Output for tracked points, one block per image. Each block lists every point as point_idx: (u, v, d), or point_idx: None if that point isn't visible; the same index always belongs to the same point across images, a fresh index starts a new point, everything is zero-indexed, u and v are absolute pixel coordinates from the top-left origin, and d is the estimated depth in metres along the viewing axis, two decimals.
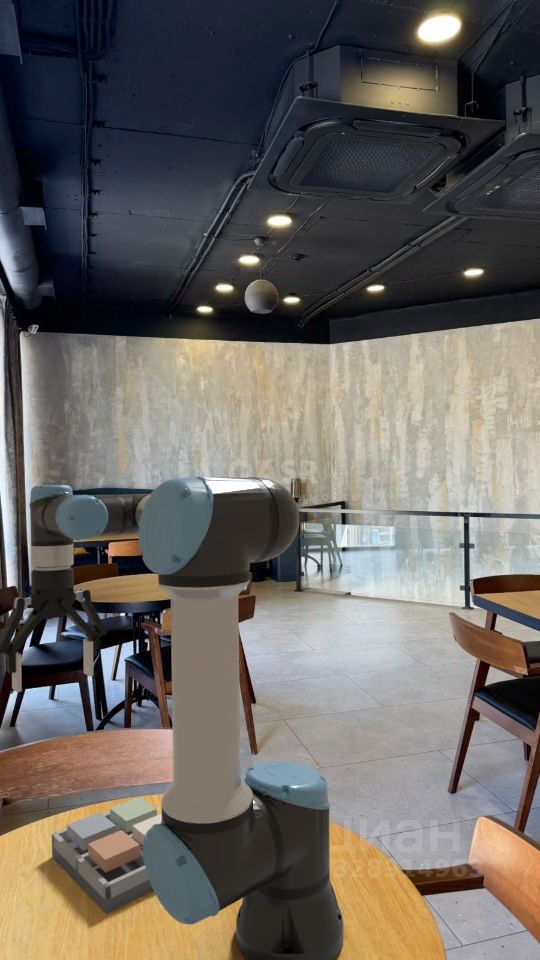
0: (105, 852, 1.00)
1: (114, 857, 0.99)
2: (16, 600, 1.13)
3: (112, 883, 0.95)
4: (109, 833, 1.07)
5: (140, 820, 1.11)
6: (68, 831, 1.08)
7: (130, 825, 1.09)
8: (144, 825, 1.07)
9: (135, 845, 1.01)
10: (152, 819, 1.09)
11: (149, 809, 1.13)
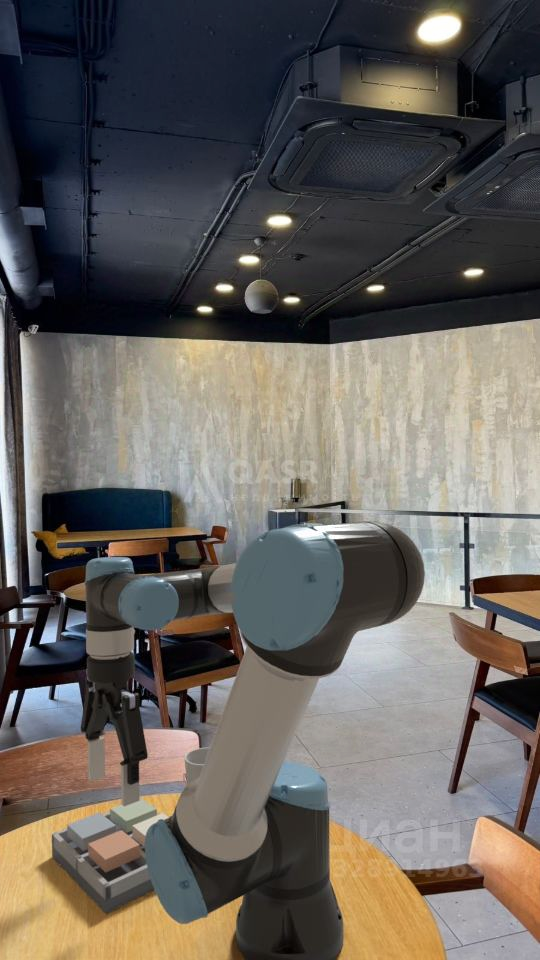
0: (105, 852, 1.00)
1: (114, 857, 0.99)
2: None
3: (112, 883, 0.95)
4: (109, 833, 1.07)
5: (140, 820, 1.11)
6: (68, 831, 1.08)
7: (130, 825, 1.09)
8: (144, 825, 1.07)
9: (135, 845, 1.01)
10: (152, 819, 1.09)
11: (149, 809, 1.13)
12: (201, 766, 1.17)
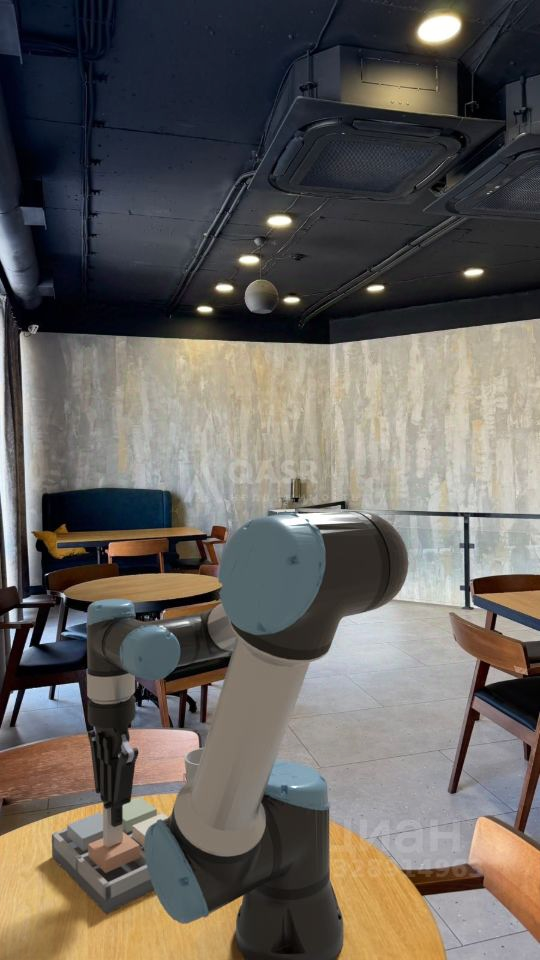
0: (105, 852, 1.00)
1: (114, 857, 0.99)
2: None
3: (112, 883, 0.95)
4: None
5: (140, 820, 1.11)
6: (68, 831, 1.08)
7: (130, 825, 1.09)
8: (144, 825, 1.07)
9: (135, 845, 1.01)
10: (152, 819, 1.09)
11: (149, 809, 1.13)
12: None
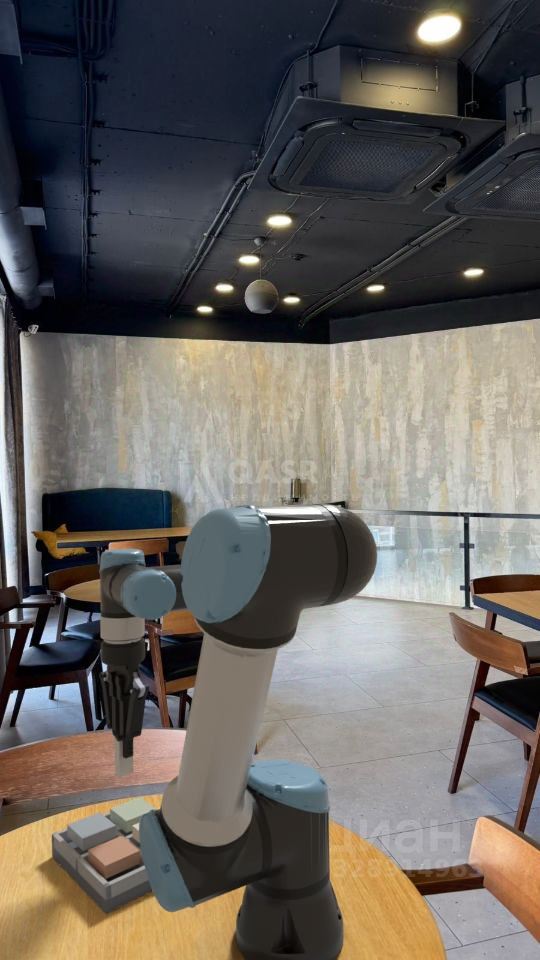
0: (105, 858, 1.00)
1: (114, 863, 0.99)
2: None
3: (112, 883, 0.95)
4: (109, 833, 1.07)
5: None
6: (68, 831, 1.08)
7: (130, 825, 1.09)
8: None
9: (135, 851, 1.01)
10: None
11: (149, 809, 1.13)
12: None
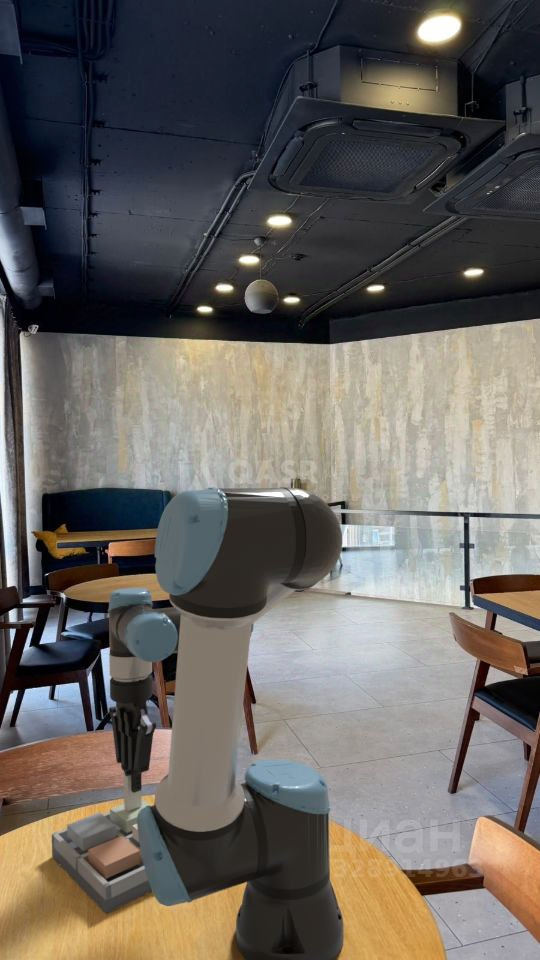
0: (105, 858, 1.00)
1: (114, 863, 0.99)
2: None
3: (112, 883, 0.95)
4: (109, 833, 1.07)
5: None
6: (68, 831, 1.08)
7: (130, 825, 1.09)
8: None
9: (135, 851, 1.01)
10: None
11: None
12: None
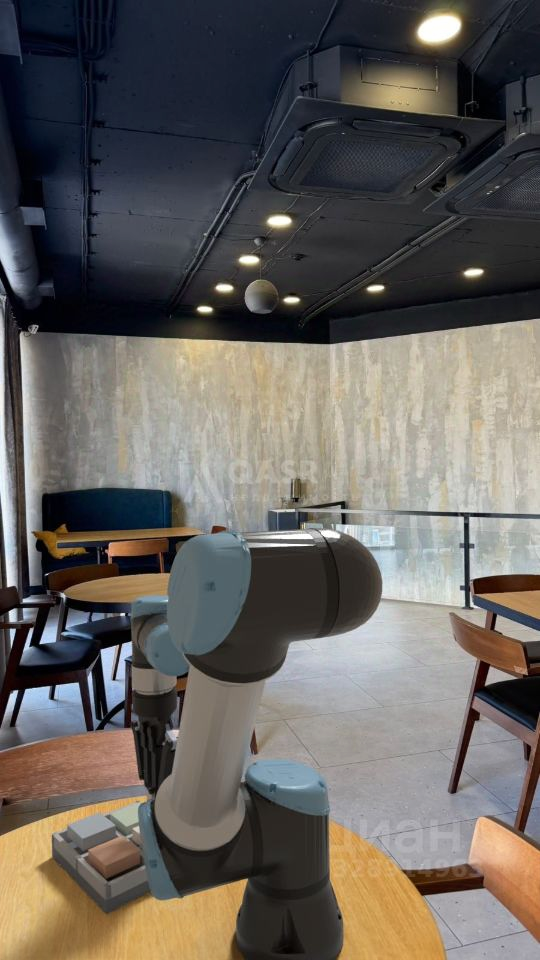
0: (105, 858, 1.00)
1: (114, 863, 0.99)
2: None
3: (112, 883, 0.95)
4: (109, 833, 1.07)
5: None
6: (68, 831, 1.08)
7: (130, 831, 1.09)
8: None
9: (135, 851, 1.01)
10: None
11: None
12: None
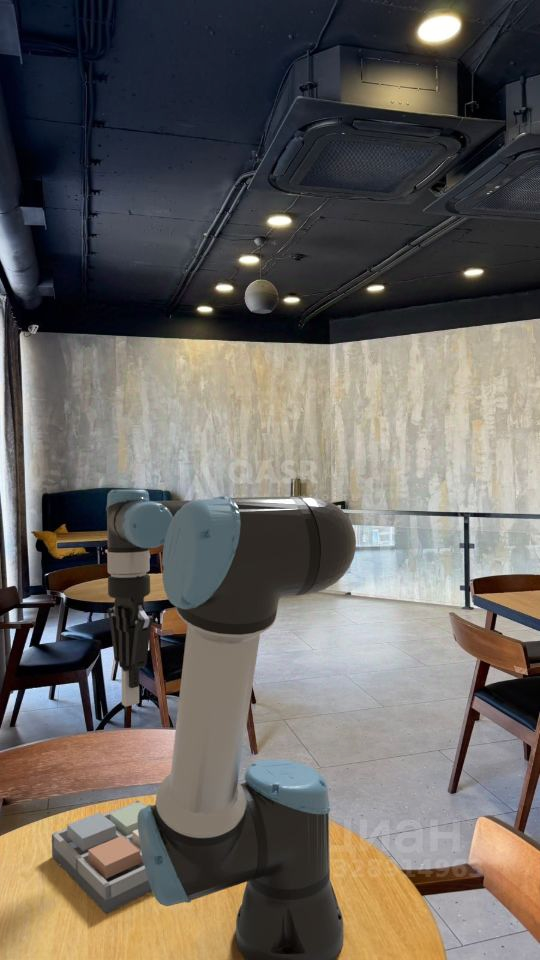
0: (105, 858, 1.00)
1: (114, 863, 0.99)
2: None
3: (112, 883, 0.95)
4: (109, 833, 1.07)
5: None
6: (68, 831, 1.08)
7: (130, 831, 1.09)
8: None
9: (135, 851, 1.01)
10: None
11: None
12: None
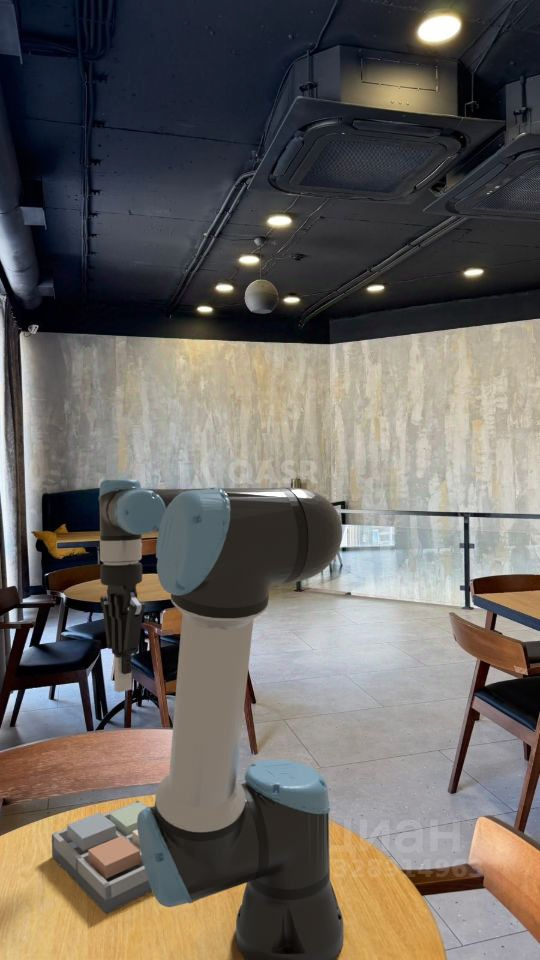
0: (105, 858, 1.00)
1: (114, 863, 0.99)
2: None
3: (112, 883, 0.95)
4: (109, 833, 1.07)
5: None
6: (68, 831, 1.08)
7: (130, 831, 1.09)
8: None
9: (135, 851, 1.01)
10: None
11: None
12: None
